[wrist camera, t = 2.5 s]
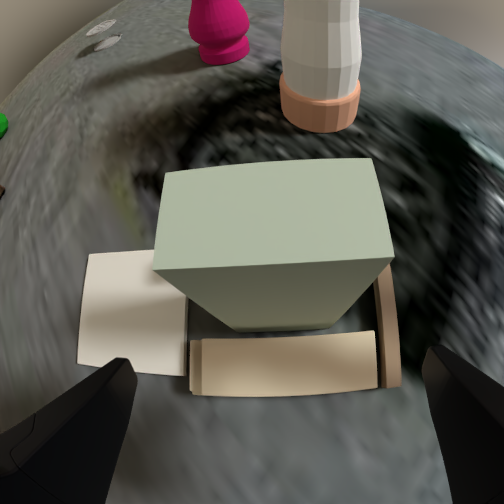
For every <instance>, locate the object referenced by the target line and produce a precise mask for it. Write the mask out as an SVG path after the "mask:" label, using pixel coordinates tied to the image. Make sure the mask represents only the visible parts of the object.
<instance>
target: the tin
mask: <svg viewBox="0 0 504 504" xmlns="http://www.w3.org/2000/svg"><path fill="white" fill-rule="evenodd" d="M4 190H5V187H3V186H1V185H0V196H1V194H2V192H3V191H4Z"/></svg>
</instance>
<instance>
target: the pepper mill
mask: <svg viewBox="0 0 504 504" xmlns="http://www.w3.org/2000/svg"><path fill="white" fill-rule="evenodd" d="M188 28H189V33H190V36H191V38H192V39H193V40H194V41H195V42H197V43H199V44H200V46H199V53H200V56H201V59H202V61H204V62H205V63H207V64H212V65H222V64H228V63H232V62H235V61H238V60H240V59H242V58H244V57H245V56H246V55H247V54H248V52H249V43H248V38H247V37H246V36H245V33H246V32H247V31H248V29H249V20H248V16H247V13H246V11H245V10H244V8H243V7H242V5H241V4H240V3H239V1H238V0H192V5H191V11H190V16H189V24H188Z"/></svg>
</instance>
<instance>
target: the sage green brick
mask: <svg viewBox="0 0 504 504" xmlns="http://www.w3.org/2000/svg"><path fill="white" fill-rule="evenodd" d="M393 258H394V251H393V246H392V241H391V236H390V231H389V226H388V222H387V217H386V213H385V208H384V204H383V200H382V196H381V192H380V188H379V184H378V180H377V177H376V173H375V169H374V166H373V162H372V159H371V158H350V159H312V160H291V161H275V162H261V163H249V164H238V165H227V166H218V167H209V168H200V169H192V170H185V171H177V172H170V173H166V174H165V179H164V185H163V191H162V198H161V204H160V211H159V218H158V225H157V232H156V240H155V249H154V257H153V267H152V270H153V271H154V272H156V273H157V274H158V275H159V276H161V277H162V278H163V279H165V280H166V281H167V282H169V283H170V284H171V285H173V286H174V287H175V288H176V289H178V290H179V291H180V292H182V293H183V294H184V295H186V296H187V297H189V298H190V299H191V300H193V301H194V302H195V303H197V304H198V305H199V306H201V307H202V308H204V309H205V310H206V311H208V312H209V313H210V314H212V315H213V316H215V317H216V318H218V319H219V320H220V321H222V322H223V323H225V324H226V325H227V326H229V327H230V328H232V329H233V330H235V331H236V332H238V333H239V332H275V331H296V330H313V329H327V328H330V327H331V326H332V325H333V324H334V323H335V322H336V321H337V320H338V319H339V318H340V317H341V316H342V315H343V314H344V313H345V312H346V311H347V310H348V309H349V308H350V307H351V306H352V304H353V303H354V302H355V301H356V300H357V299H358V298H359V297H360V296H361V295H362V294H363V292H364V291H365V290H366V289H367V288H368V287H369V286H370V285H371V284H372V282H373V281H374V280H375V279H376V278H377V277H378V276H379V274H380V273H381V272H382V271H383V270H384V269H385V267H386V266H387V265H388V264H389V263H390V262H391V260H392V259H393Z"/></svg>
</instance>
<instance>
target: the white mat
mask: <svg viewBox="0 0 504 504" xmlns="http://www.w3.org/2000/svg"><path fill="white" fill-rule="evenodd" d="M153 257H154V250H142V251H128V252H113V253H99V254H89V259H88V265H87V271H86V277H85V284H84V291H83V299H82V308H81V317H80V328H79V341H78V360H77V363H78V364H84V365H90V366H96V367H103V366H104V365H105V364H107V363H108V362H110V361H111V360H113V359H114V358H116V357H122V358H127V359H129V360H130V362H131V364H132V367H133V369H134V371H135V372H141V373H151V374H162V375H175V376H186V366H187V321H188V297H187V296H186V295H184V294H183V293H182V292H180V291H179V290H178V289H176V288H175V287H174V286H173V285H171V284H170V283H169V282H167V281H166V280H165V279H163V278H162V277H161V276H159V275H158V274H157V273H156V272H154V271H153V270H152V267H153Z"/></svg>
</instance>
